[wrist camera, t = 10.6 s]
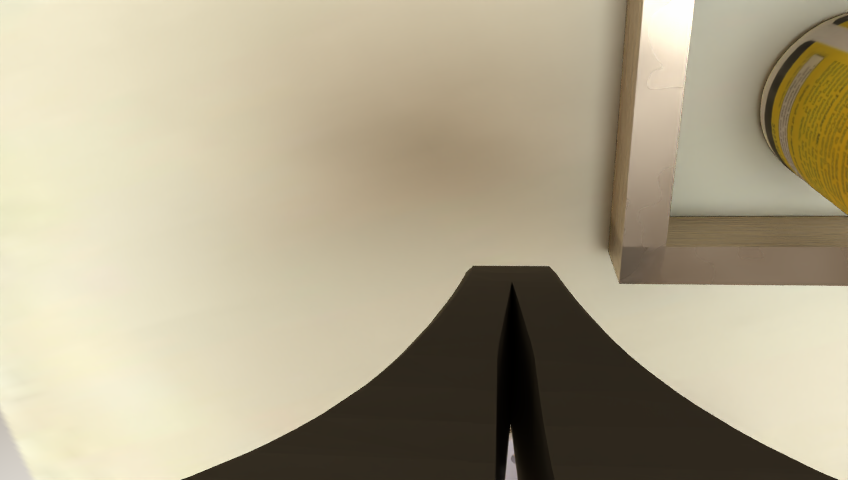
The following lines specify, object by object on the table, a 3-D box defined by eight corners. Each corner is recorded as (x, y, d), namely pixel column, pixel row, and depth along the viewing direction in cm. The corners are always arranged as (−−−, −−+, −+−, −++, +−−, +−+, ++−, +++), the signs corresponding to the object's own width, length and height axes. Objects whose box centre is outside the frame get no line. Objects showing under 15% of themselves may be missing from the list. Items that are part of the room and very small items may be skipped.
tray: (921, 252, 20) (967, 286, 18) (608, 251, 21) (619, 283, 19) (1022, -89, 16) (1094, -92, 14) (632, -70, 17) (649, -70, 16)
